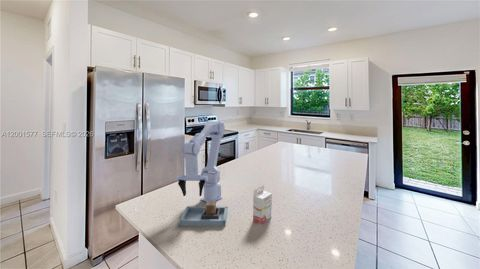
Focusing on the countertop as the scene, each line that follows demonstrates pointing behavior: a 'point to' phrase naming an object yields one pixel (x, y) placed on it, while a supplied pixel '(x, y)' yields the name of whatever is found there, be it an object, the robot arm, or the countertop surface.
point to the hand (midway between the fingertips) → (192, 195)
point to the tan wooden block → (211, 208)
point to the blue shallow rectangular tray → (203, 217)
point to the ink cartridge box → (261, 205)
